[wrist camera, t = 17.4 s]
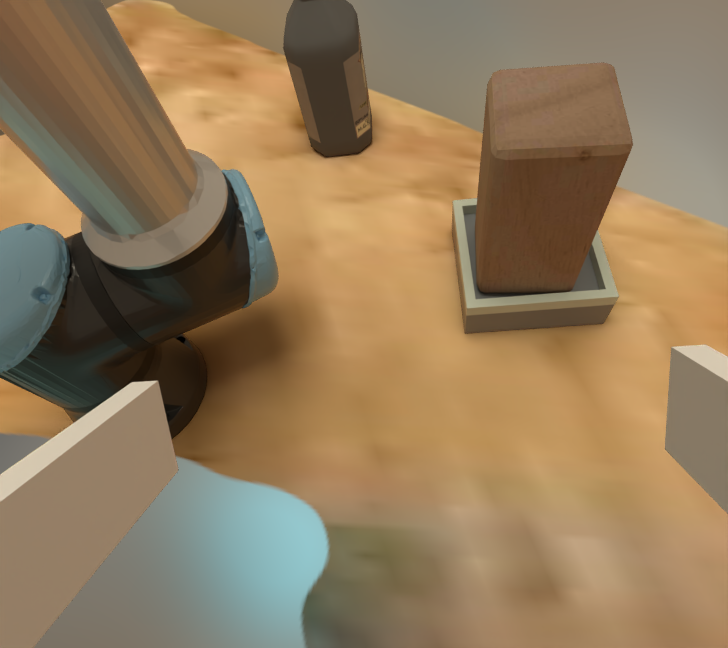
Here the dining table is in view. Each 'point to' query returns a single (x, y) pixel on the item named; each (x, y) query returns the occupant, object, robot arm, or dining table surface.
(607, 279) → the square tray
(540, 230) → the wooden block
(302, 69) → the liquor
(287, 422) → the dining table surface
